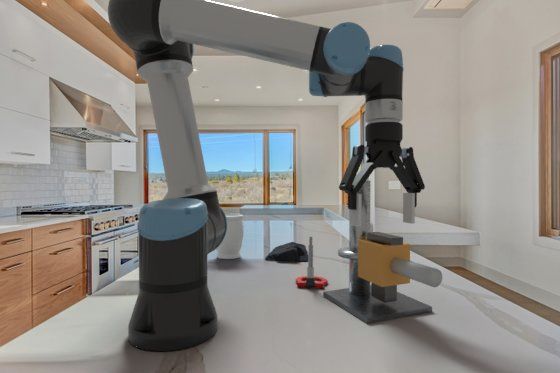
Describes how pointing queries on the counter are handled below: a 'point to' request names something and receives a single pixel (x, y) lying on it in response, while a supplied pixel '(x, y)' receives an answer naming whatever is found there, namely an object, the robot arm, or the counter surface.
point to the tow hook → (310, 273)
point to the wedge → (386, 292)
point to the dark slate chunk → (289, 253)
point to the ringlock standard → (360, 289)
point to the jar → (232, 238)
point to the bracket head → (392, 265)
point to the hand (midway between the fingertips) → (383, 224)
